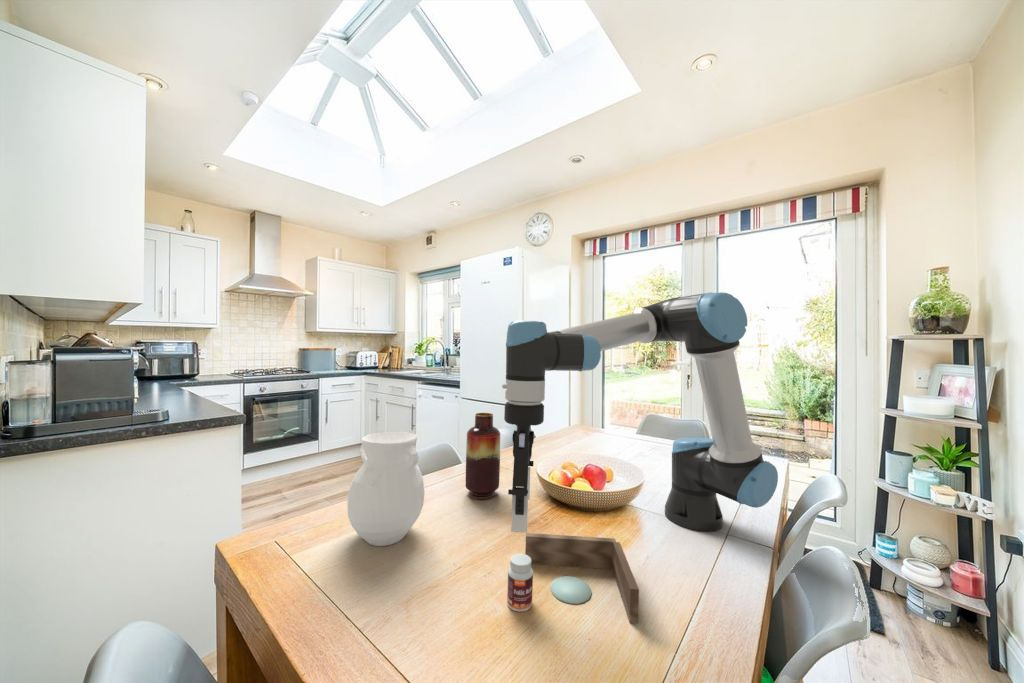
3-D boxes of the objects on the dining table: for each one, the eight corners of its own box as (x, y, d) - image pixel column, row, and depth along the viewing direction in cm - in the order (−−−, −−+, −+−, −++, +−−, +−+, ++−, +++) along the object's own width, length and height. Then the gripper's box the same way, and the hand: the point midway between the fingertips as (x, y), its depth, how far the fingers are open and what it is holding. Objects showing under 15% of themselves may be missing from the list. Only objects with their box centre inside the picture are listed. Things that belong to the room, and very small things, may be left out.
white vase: (438, 528, 99) (440, 433, 99) (387, 564, 82) (391, 450, 82) (384, 513, 106) (386, 425, 107) (328, 543, 90) (331, 439, 90)
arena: (617, 565, 84) (618, 538, 84) (638, 623, 66) (638, 589, 66) (525, 559, 85) (526, 532, 85) (521, 614, 68) (522, 581, 68)
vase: (505, 492, 123) (507, 413, 124) (485, 504, 114) (487, 419, 114) (478, 485, 129) (480, 410, 129) (457, 495, 120) (460, 414, 120)
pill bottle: (513, 615, 67) (514, 568, 68) (503, 598, 72) (504, 555, 72) (536, 608, 69) (537, 563, 69) (525, 592, 74) (526, 550, 74)
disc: (588, 579, 78) (588, 577, 78) (593, 605, 71) (593, 604, 71) (550, 576, 79) (550, 575, 79) (551, 602, 71) (551, 600, 71)
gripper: (510, 392, 84) (507, 487, 84) (497, 412, 59) (493, 547, 59) (543, 394, 83) (541, 489, 83) (544, 414, 58) (540, 550, 58)
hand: (521, 513), depth 71 cm, fingers open, 13 cm apart
